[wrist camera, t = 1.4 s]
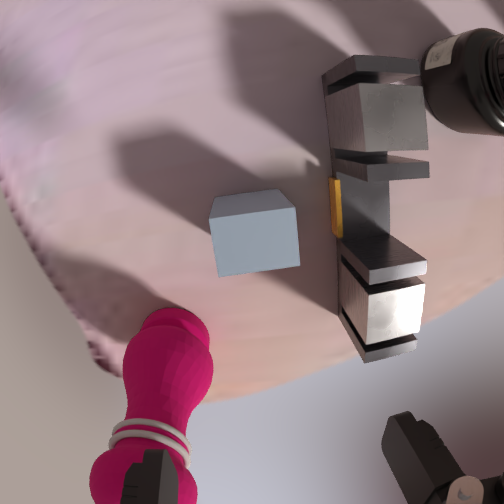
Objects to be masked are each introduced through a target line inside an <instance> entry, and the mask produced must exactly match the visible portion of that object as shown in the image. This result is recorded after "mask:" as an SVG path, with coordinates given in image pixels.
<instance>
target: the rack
mask: <svg viewBox="0 0 504 504" xmlns="http://www.w3.org/2000/svg"><path fill="white" fill-rule="evenodd" d="M419 75H421V73H420V67H419V61H418V60H415V59H406V58H396V57H385V56H370V55H353V56H351V57H350V58H348V59H346V60H345V61H343V62H342V63H340V64H339V65H337V66H336V67H334V68H332V69H331V70H329V71H328V72H326V73H325V74H323V75H322V82H323V89H324V97H325V105H326V113H327V121H328V130H329V140H330V150H331V160H332V172H333V177H330V178H328V179H329V192H330V206H331V222H332V233H333V234H335V235H336V236H337V261H338V317H339V319H340V320H341V322H342V324H343V326H344V328H345V329H346V331H347V333H348V335H349V336H350V338H351V340H352V342H353V344H354V345H355V347H356V349H357V351H358V353H359V354H360V356H361V358H362V360H363V361H364V363H368V362H372V361H377V360H381V359H385V358H388V357H392V356H396V355H400V354H403V353H407V352H411V351H414V350H416V345H417V339H416V338H415V336H414V335H413V334H412V333H416V332H419V327H420V320H421V313H422V306H423V298H424V289H425V283H424V282H422V281H421V280H420V279H419V278H418V277H416V276H418V275H423V274H426V269H427V260H426V259H425V258H423V257H422V256H421V255H419V254H418V253H416V252H415V251H413V250H412V249H411V248H409V247H408V246H406V245H405V244H403V243H402V242H400V241H399V240H397V239H396V238H394V237H393V236H391V235H390V203H389V180H402V179H417V178H429V162H427V161H422V160H416V159H410V158H404V157H398V156H391V155H387V151H399V150H428V135H427V122H426V112H425V103H424V94H423V87H422V86H410V85H395V84H390V83H393V82H397V81H400V80H404V79H407V78H411V77H415V76H419Z"/></svg>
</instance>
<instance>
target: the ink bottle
mask: <svg viewBox="0 0 504 504" xmlns="http://www.w3.org/2000/svg"><path fill="white" fill-rule="evenodd" d="M421 81H422V86H423V90H424V94H425V97H426V99H427V102H428V104H429V106H430V108H431V109H432V111H433V113H434V114H435V116H436V117H437V118H438V119H439V120H440V121H441V122H442V123H443V124H444V125H445V126H447V127H448V128H450V129H452V130H454V131H457V132H461V133H470V134H483V135H494V136H504V35H503V34H501V33H499V32H497V31H495V30H492V29H488V28H478V29H474V30H470V31H467V32H464V33H461V34H458V35H455V36H452V37H449V38H446V39H443V40H441V41H438V42H436V43H434V44H433V45H431V46H430V47H429V48H428V49H427V50H426V52H425V54H424V56H423V58H422V62H421Z"/></svg>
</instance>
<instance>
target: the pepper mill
mask: <svg viewBox="0 0 504 504" xmlns="http://www.w3.org/2000/svg"><path fill="white" fill-rule="evenodd" d="M212 376H213V360H212V357H211V354H210V352H209V333H208V330H207V328H206V326H205V325H204V323H203V322H202V321H201V320H200V319H199V318H198V317H197V316H195V315H194V314H192V313H190V312H188V311H186V310H183V309H178V308H164V309H160V310H157V311H155V312H153V313H152V314H150V315H149V316H148V317H147V319H146V320H145V321H144V323H143V326H142V328H141V330H140V332H139V333H138V334H137V335H135V336H134V337H133V338H132V339H131V341H130V342H129V344H128V346H127V348H126V352H125V355H124V359H123V379H124V384H125V389H126V394H127V399H128V407H127V412H126V417H125V419H124V421H121V422H120V423H118V424H117V425H116V426H115V427H114V429H113V432H112V437H111V438H110V440H109V450H108V451H106V452H104V453H103V454H102V455H100V456H99V457H98V458H97V459H96V461H95V462H94V464H93V466H92V469H91V473H90V483H89V485H90V491H91V496H92V498H93V500H94V502H95V504H120V500H121V497H122V495H121V494H122V489H123V483H124V478H125V473H126V472H127V470H128V469H129V467H130V466H131V464H132V463H133V462H135V463H142V461H143V455H144V451H145V449H166V450H167V451H168V453H169V455H170V457H171V460H172V462H173V464H174V466H175V468H176V471H177V474H178V481H179V488H178V504H196V502H197V495H198V494H197V486H196V482H195V480H194V478H193V477H192V475H191V473H190V472H189V470H188V468H189V466H190V463H191V460H190V455H191V451H192V447H191V444H190V442H189V441H188V439H187V438H186V427H187V422H188V419H189V417H190V414H191V412H192V411H193V409H194V408H195V407H196V406H197V405H198V404H199V403H200V402H201V400H202V399H203V398H204V396H205V395H206V393H207V391H208V389H209V387H210V385H211V382H212Z"/></svg>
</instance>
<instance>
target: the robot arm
mask: <svg viewBox="0 0 504 504" xmlns="http://www.w3.org/2000/svg"><path fill="white" fill-rule="evenodd" d="M381 445H382V451H383V454H384V456H385V458H386V460H387V462H388V464H389V466H390V468H391V470H392V472H393V474H394V476H395V478H396V480H397V482H398V484H399V486H400V488H401V490H402V492H403V494H404V496H405V498H406V500H407V503H408V504H504V472H503V474H502V475H500V476H497V477H492V478H488V479H483V480H478V479H477V478H474V477H471V476H466V475H465V474H464V473H463V471H462V470H461V468H460V467H459V465H458V464H457V462H456V461H455V459H454V458H453V456H452V455H451V453H450V452H449V450H448V449H447V447H446V446H444V443H443V441H442V440H441V438H439V435H438V434H437V432H436V431H435V429H434V428H433V426H431V425H430V424H428V423H427V422H425V421H424V420H420V421H416V419H415V418H414V416H413V415H412V413H411V412H409V411H406V412H403V413H400V414H396V415H393V416H390V417H389V418H388V421H387V425H386V428H385V431H384V435H383V438H382V444H381ZM178 488H179V481H178V474H177V471H176V468H175V466H174V464H173V462H172V460H171V457H170V455H169V453H168V451H167V450H166V449H145V451H144V455H143V461H142V463H135V462H133V463H132V464H131V466H130V467H129V469H128V470H127V472H126V473H125V478H124V483H123V489H122V494H121V495H122V497H121V500H120V504H178Z"/></svg>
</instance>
